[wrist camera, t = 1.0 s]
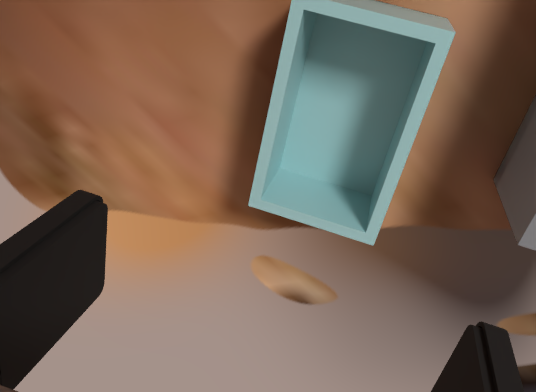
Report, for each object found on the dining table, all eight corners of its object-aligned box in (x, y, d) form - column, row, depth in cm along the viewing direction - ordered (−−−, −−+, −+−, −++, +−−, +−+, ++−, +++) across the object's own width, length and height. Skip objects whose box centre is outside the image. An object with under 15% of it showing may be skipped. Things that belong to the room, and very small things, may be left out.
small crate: (313, -15, 25) (293, -9, 20) (447, 18, 24) (455, 32, 20) (271, 169, 30) (248, 205, 26) (378, 202, 29) (373, 245, 25)
